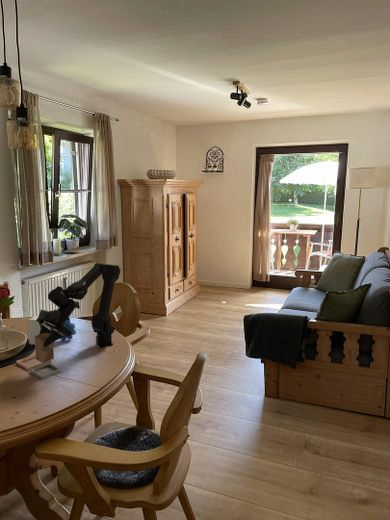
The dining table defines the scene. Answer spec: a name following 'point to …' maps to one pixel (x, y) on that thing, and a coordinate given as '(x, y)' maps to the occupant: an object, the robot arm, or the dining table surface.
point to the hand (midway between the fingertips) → (40, 344)
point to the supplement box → (33, 329)
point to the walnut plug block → (43, 348)
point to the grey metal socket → (47, 373)
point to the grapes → (70, 327)
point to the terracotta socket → (33, 365)
